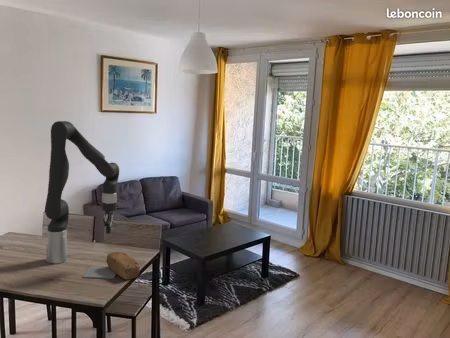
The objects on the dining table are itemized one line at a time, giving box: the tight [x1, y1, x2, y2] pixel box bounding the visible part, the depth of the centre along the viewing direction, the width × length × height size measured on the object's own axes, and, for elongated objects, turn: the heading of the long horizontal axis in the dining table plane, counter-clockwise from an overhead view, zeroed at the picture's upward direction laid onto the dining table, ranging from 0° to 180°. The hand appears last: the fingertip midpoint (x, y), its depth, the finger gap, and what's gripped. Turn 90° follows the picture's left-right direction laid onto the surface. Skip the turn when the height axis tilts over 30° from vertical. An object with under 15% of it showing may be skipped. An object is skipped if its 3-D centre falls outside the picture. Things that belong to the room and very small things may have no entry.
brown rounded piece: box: [106, 251, 141, 281], centre depth 193 cm, size 11×8×20 cm
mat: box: [82, 265, 117, 280], centre depth 191 cm, size 15×13×1 cm
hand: (108, 232), depth 198 cm, fingers closed
